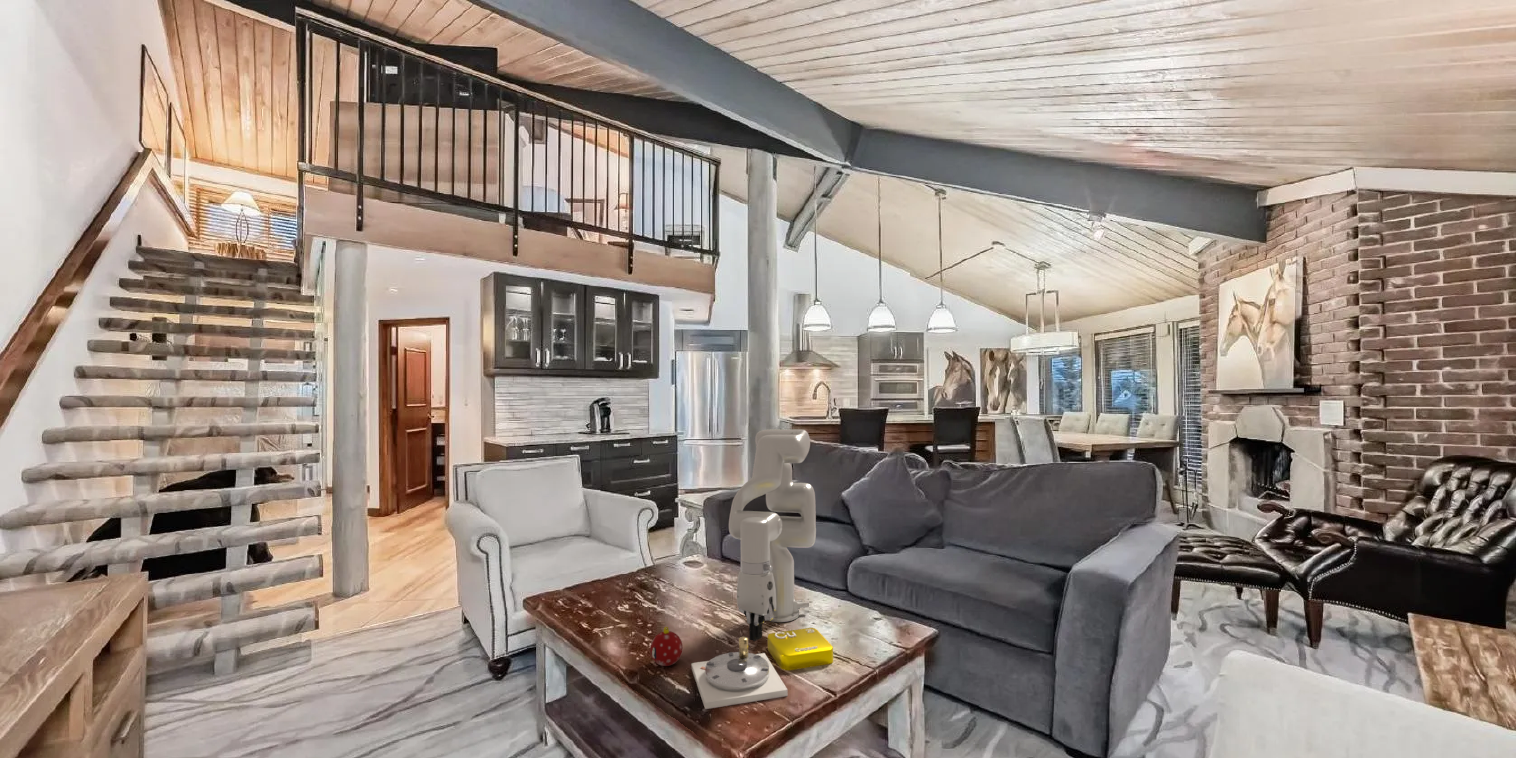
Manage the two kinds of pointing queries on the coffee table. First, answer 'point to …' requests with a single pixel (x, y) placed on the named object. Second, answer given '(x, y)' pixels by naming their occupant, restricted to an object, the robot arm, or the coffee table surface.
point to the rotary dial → (737, 669)
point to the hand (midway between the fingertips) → (755, 638)
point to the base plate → (724, 698)
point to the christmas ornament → (666, 648)
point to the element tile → (800, 649)
